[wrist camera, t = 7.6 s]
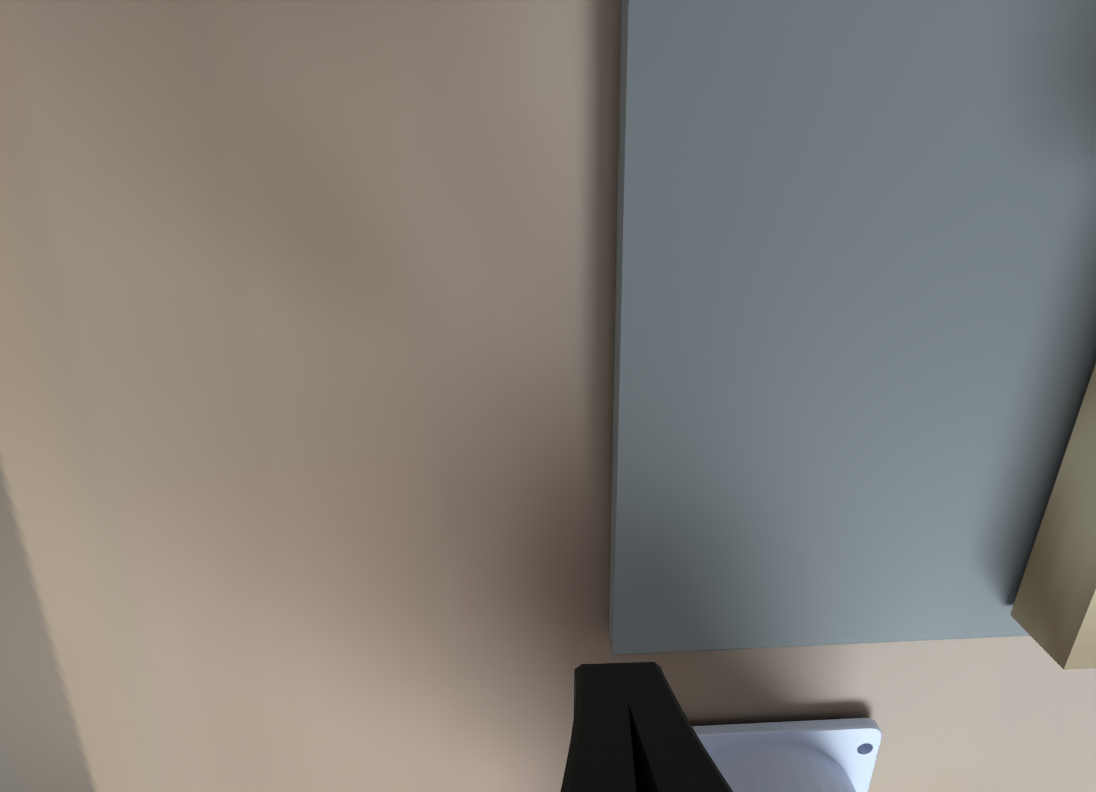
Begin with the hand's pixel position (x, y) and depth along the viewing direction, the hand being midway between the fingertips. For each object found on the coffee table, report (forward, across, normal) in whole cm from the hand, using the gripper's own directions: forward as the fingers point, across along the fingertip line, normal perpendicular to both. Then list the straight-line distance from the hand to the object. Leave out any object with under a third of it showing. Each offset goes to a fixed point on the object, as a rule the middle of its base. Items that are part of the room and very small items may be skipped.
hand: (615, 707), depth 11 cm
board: (+7, -10, -5) cm, 13 cm away
